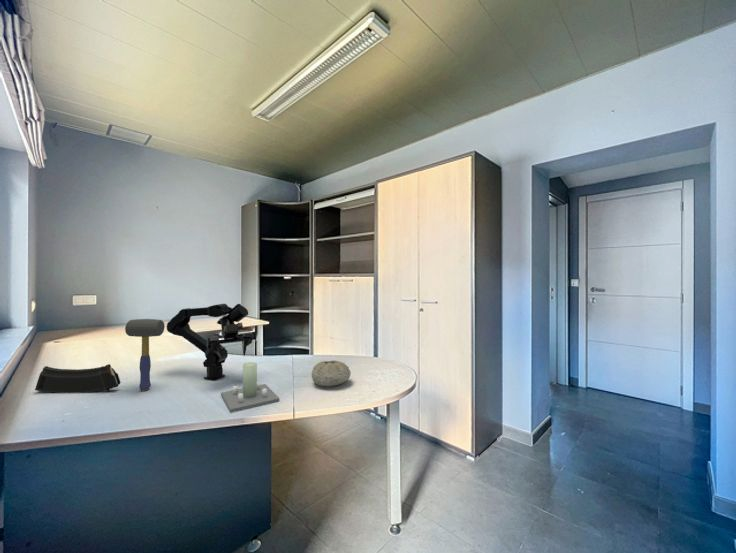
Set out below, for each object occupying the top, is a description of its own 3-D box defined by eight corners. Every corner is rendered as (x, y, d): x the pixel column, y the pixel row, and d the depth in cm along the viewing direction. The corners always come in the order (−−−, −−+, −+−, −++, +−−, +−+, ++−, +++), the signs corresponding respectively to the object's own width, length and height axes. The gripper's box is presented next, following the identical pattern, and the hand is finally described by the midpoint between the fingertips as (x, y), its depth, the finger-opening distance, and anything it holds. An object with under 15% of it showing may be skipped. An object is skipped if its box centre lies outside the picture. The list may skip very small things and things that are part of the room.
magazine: (27, 371, 124) (104, 349, 126) (35, 368, 127) (110, 347, 130) (41, 411, 125) (117, 389, 127) (49, 408, 128) (122, 386, 130)
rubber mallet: (165, 386, 135) (166, 317, 134) (155, 393, 127) (156, 320, 127) (134, 386, 133) (135, 317, 133) (123, 393, 126) (123, 320, 125)
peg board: (220, 395, 126) (221, 385, 126) (265, 386, 137) (265, 377, 137) (230, 412, 112) (230, 401, 111) (279, 401, 122) (279, 390, 122)
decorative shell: (319, 375, 153) (319, 355, 153) (354, 378, 149) (354, 358, 149) (305, 388, 135) (305, 366, 135) (344, 392, 132) (344, 369, 132)
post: (239, 396, 122) (240, 365, 122) (248, 391, 127) (249, 361, 127) (250, 398, 121) (251, 367, 121) (259, 393, 126) (259, 363, 125)
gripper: (207, 318, 133) (211, 349, 124) (252, 315, 143) (259, 344, 135) (205, 333, 139) (208, 364, 130) (248, 329, 150) (254, 357, 141)
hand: (233, 356), depth 134 cm, fingers open, 9 cm apart
